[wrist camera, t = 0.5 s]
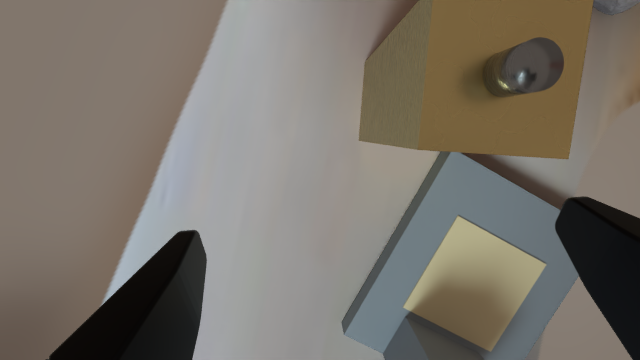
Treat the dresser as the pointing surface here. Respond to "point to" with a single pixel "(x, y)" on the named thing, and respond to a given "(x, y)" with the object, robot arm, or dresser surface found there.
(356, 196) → the dresser surface
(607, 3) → the stone block
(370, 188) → the dresser surface
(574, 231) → the robot arm
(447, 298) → the press
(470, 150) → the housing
